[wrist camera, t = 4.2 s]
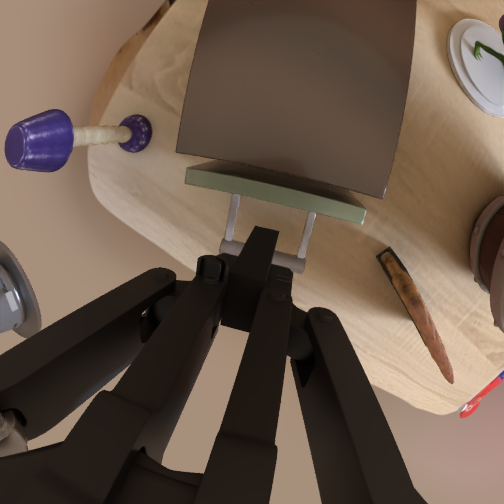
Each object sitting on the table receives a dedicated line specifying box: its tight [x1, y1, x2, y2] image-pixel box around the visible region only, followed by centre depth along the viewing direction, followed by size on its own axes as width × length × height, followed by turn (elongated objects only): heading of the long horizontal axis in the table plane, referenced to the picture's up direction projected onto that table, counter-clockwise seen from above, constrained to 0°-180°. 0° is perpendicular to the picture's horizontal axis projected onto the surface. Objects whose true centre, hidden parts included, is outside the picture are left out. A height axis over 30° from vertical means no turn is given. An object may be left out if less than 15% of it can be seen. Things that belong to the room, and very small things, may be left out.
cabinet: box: [176, 0, 417, 199], centre depth 18 cm, size 17×14×10 cm
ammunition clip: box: [376, 247, 454, 384], centre depth 23 cm, size 11×2×12 cm, turn 40°
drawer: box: [185, 160, 367, 274], centre depth 21 cm, size 22×13×8 cm, turn 169°
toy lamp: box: [5, 109, 152, 172], centre depth 20 cm, size 5×5×17 cm
